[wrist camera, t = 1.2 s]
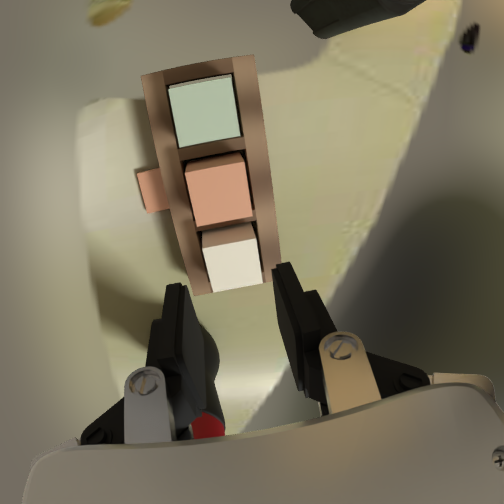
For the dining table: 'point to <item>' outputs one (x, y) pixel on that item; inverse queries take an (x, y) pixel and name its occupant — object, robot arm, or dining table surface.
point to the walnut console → (174, 155)
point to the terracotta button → (218, 189)
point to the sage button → (204, 111)
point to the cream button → (231, 256)
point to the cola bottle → (210, 395)
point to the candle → (348, 13)
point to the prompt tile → (153, 190)
